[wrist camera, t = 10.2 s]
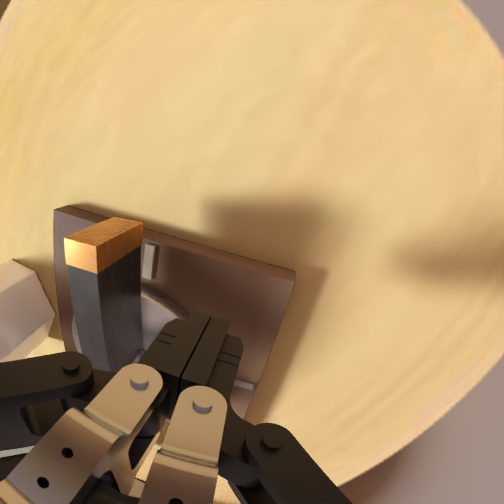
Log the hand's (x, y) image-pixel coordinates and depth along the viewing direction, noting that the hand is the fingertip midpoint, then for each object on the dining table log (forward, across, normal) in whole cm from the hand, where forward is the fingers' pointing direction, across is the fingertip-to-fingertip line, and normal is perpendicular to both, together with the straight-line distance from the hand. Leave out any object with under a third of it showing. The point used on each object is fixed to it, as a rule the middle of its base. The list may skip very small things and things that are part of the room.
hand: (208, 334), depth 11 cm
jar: (+8, +20, +10) cm, 24 cm away
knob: (+5, +5, +5) cm, 9 cm away
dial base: (+7, +5, +8) cm, 12 cm away
